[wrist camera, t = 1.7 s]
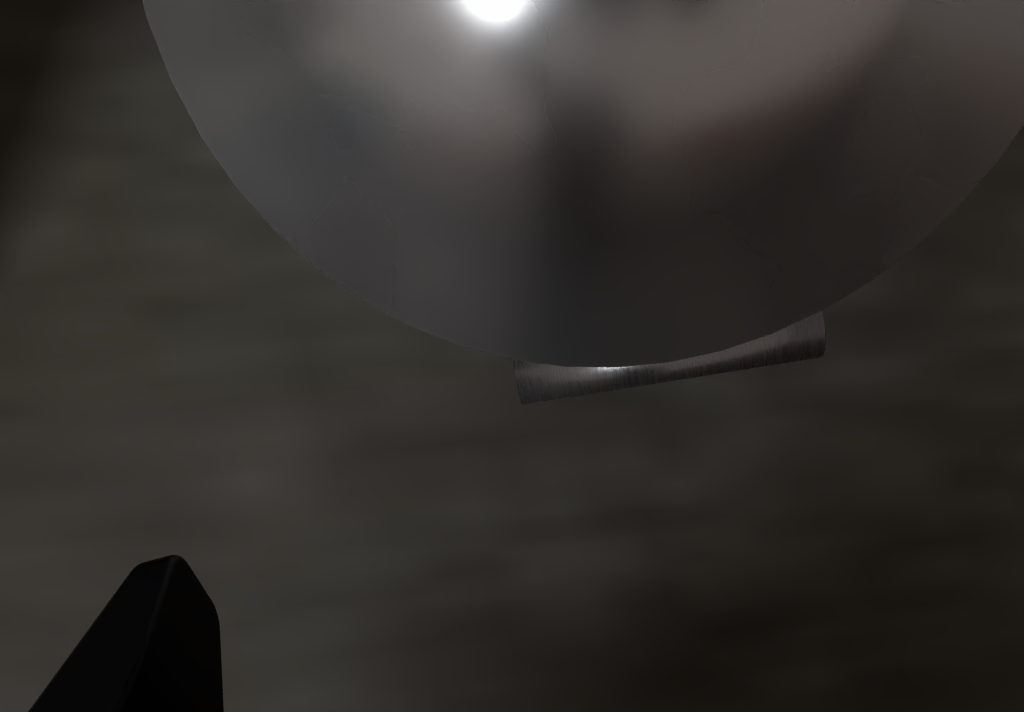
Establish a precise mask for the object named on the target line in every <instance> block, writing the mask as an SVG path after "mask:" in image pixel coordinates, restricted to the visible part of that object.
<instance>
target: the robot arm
mask: <svg viewBox="0 0 1024 712" xmlns="http://www.w3.org/2000/svg"><path fill="white" fill-rule="evenodd" d="M28 712H224V708H223V686H222V665H221V644H220V625H219V619H218V615H217V611H216V609H215V606H214V604H213V602H212V600H211V599H210V597H209V596H208V594H207V593H206V591H205V589H204V588H203V586H202V585H201V583H200V582H199V580H198V579H197V577H196V575H195V574H194V572H193V571H192V569H191V568H190V566H189V565H188V563H187V562H186V561H185V560H184V559H183V558H182V557H181V556H178V555H170V556H166V557H162V558H158V559H154V560H151V561H147V562H143V563H141V564H139V565H137V566H136V567H135V568H134V569H133V570H132V571H131V572H130V574H129V575H128V576H127V578H126V579H125V580H124V582H123V583H122V585H121V586H120V587H119V589H118V590H117V591H116V593H115V594H114V595H113V597H112V598H111V600H110V601H109V602H108V604H107V605H106V606H105V608H104V609H103V610H102V612H101V613H100V615H99V616H98V617H97V619H96V620H95V621H94V623H93V624H92V625H91V627H90V628H89V630H88V631H87V632H86V634H85V635H84V636H83V638H82V639H81V640H80V642H79V643H78V645H77V646H76V647H75V649H74V650H73V651H72V653H71V654H70V655H69V657H68V658H67V659H66V661H65V662H64V664H63V665H62V666H61V668H60V669H59V670H58V672H57V673H56V674H55V676H54V677H53V679H52V680H51V681H50V683H49V684H48V685H47V687H46V688H45V689H44V691H43V692H42V694H41V695H40V696H39V698H38V699H37V700H36V702H35V703H34V704H33V706H32V707H31V709H30V710H29V711H28Z"/></svg>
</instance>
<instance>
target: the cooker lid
mask: <svg viewBox="0 0 1024 712" xmlns="http://www.w3.org/2000/svg"><path fill="white" fill-rule="evenodd" d="M142 2H143V6H144V10H145V13H146V17H147V20H148V23H149V25H150V28H151V30H152V33H153V36H154V38H155V41H156V43H157V46H158V48H159V51H160V53H161V56H162V58H163V61H164V63H165V66H166V69H167V71H168V74H169V76H170V79H171V81H172V83H173V85H174V87H175V89H176V91H177V92H178V94H179V96H180V98H181V100H182V102H183V104H184V105H185V107H186V109H187V111H188V113H189V115H190V117H191V119H192V120H193V122H194V124H195V126H196V128H197V130H198V132H199V133H200V135H201V137H202V139H203V140H204V142H205V143H206V144H207V146H208V147H209V149H210V150H211V152H212V153H213V155H214V156H215V157H216V159H217V160H218V162H219V163H220V165H221V166H222V167H223V169H224V170H225V172H226V173H227V175H228V176H229V177H230V179H231V180H232V182H233V183H234V185H235V186H236V187H237V189H238V190H239V191H240V192H241V193H242V194H243V195H244V197H245V198H246V199H247V200H248V201H249V202H250V203H251V204H252V206H253V207H254V208H255V209H256V210H257V211H258V212H259V213H260V215H261V216H262V217H263V218H264V219H265V220H266V221H267V223H268V224H269V225H270V226H271V227H272V228H273V229H274V230H275V232H276V233H278V234H279V235H280V236H281V237H282V238H283V239H284V240H285V241H287V242H288V243H289V244H290V245H291V246H292V247H293V248H294V249H296V250H297V251H298V252H299V253H300V254H301V255H302V256H303V257H305V258H306V259H307V260H308V261H309V262H310V263H311V264H312V265H314V266H315V267H316V268H317V269H318V270H319V271H321V272H322V273H324V274H325V275H326V276H328V277H329V278H331V279H332V280H334V281H335V282H337V283H338V284H339V285H341V286H342V287H344V288H345V289H347V290H348V291H349V292H351V293H352V294H354V295H355V296H357V297H358V298H360V299H361V300H362V301H364V302H365V303H367V304H369V305H371V306H373V307H375V308H377V309H379V310H381V311H382V312H384V313H386V314H388V315H390V316H392V317H394V318H396V319H397V320H399V321H401V322H403V323H405V324H407V325H409V326H411V327H413V328H415V329H418V330H420V331H423V332H425V333H428V334H431V335H433V336H436V337H438V338H441V339H444V340H446V341H449V342H451V343H454V344H456V345H459V346H462V347H465V348H469V349H473V350H477V351H481V352H485V353H489V354H493V355H496V356H500V357H504V358H508V359H512V360H513V362H514V369H515V375H516V381H517V386H518V391H519V395H520V399H521V403H522V405H523V404H530V403H536V402H542V401H549V400H555V399H561V398H568V397H574V396H580V395H586V394H593V393H599V392H605V391H612V390H618V389H624V388H631V387H637V386H643V385H650V384H656V383H662V382H669V381H675V380H681V379H688V378H694V377H700V376H707V375H713V374H719V373H726V372H732V371H738V370H744V369H751V368H757V367H763V366H770V365H776V364H782V363H789V362H795V361H801V360H808V359H814V358H820V357H822V356H823V354H824V351H825V326H824V319H823V314H822V310H824V309H826V308H827V307H829V306H831V305H832V304H834V303H835V302H837V301H839V300H840V299H842V298H844V297H845V296H847V295H849V294H850V293H852V292H853V291H855V290H857V289H858V288H860V287H862V286H863V285H865V284H867V283H868V282H870V281H872V280H873V279H874V278H876V277H877V276H878V275H880V274H881V273H882V272H883V271H885V270H886V269H887V268H889V267H890V266H891V265H892V264H894V263H895V262H896V261H898V260H899V259H900V258H902V257H903V256H904V255H905V254H907V253H908V252H909V251H911V250H912V249H913V248H915V247H916V246H917V245H918V244H920V243H921V242H922V241H923V240H924V239H925V238H926V237H927V236H928V235H929V234H930V233H931V232H932V231H933V230H934V229H935V228H936V227H937V226H938V225H939V224H941V223H942V222H943V221H944V220H945V219H946V218H947V217H948V216H949V215H950V214H951V213H952V212H953V211H954V210H955V209H956V208H957V207H958V206H959V205H960V204H961V203H962V202H963V201H964V200H965V199H966V198H967V197H968V195H969V194H970V193H971V192H972V191H973V190H974V188H975V187H976V186H977V185H978V184H979V182H980V181H981V180H982V179H983V178H984V176H985V175H986V174H987V173H988V172H989V171H990V169H991V168H992V167H993V166H994V165H995V163H996V162H997V161H998V160H999V159H1000V158H1001V156H1002V155H1003V154H1004V153H1005V151H1006V150H1007V148H1008V147H1009V145H1010V144H1011V142H1012V141H1013V139H1014V138H1015V136H1016V135H1017V133H1018V132H1019V130H1020V129H1021V127H1022V126H1023V124H1024V0H142Z"/></svg>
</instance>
